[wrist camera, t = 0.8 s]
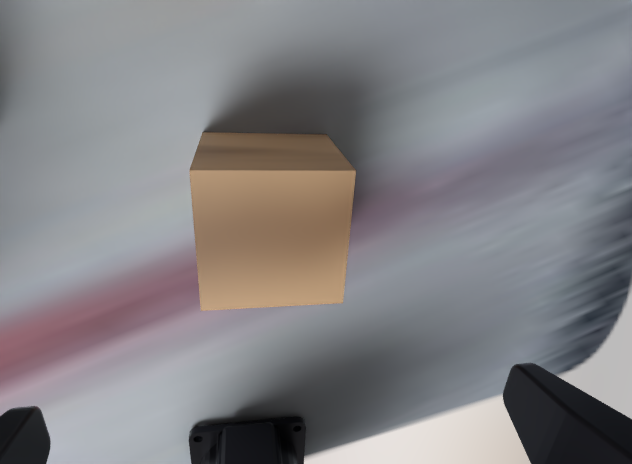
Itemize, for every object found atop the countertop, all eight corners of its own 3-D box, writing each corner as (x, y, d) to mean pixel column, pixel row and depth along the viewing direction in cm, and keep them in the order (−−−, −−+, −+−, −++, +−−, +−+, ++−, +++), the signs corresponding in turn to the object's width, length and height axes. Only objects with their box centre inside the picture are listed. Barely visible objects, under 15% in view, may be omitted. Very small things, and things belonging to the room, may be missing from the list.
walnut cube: (319, 240, 19) (342, 303, 15) (209, 243, 19) (200, 310, 14) (326, 134, 17) (356, 170, 13) (202, 131, 16) (189, 170, 12)
